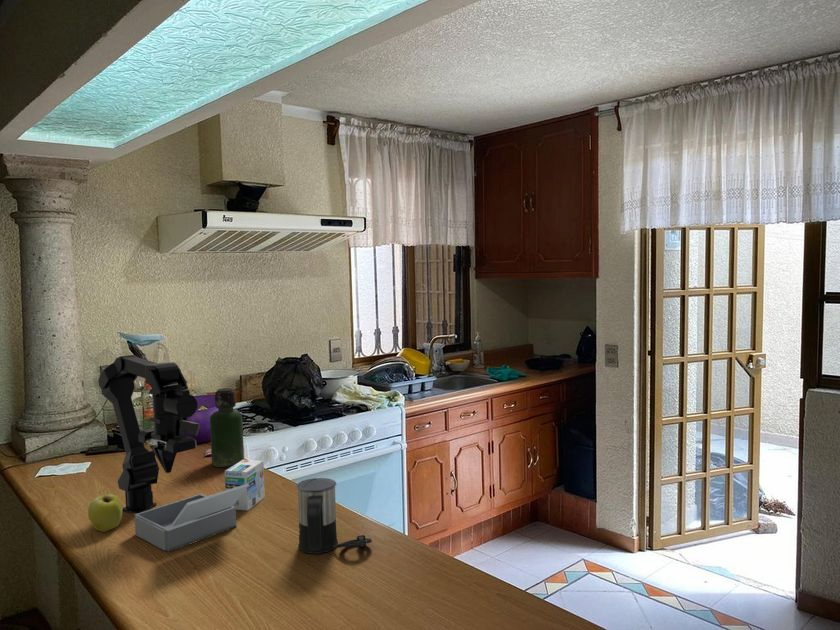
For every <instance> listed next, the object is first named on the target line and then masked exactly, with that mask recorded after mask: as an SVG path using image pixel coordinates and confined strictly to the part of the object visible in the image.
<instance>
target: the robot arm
mask: <svg viewBox="0 0 840 630" xmlns="http://www.w3.org/2000/svg"><path fill="white" fill-rule="evenodd" d="M98 377H99V378H98V381H97V382H98V387H99V388H100V389H101V392H102V394H103V396H104V398H105V399H107V400H108V401H109V403H111V404H112V406H113V410H114V414H115V418H116V421H117V424H118V425H117V426H118V429H119V432H120V437H121V439H122V443H123V448H124V451H125V456H124V459H123V462H122V473H121V474H120V475H119V478H118V479H117V485H118V489H119V490H122V491H124V494H125V495H124V496H125V506H124V507H122V508H123V512H127V513H128V512H130V513H134V514H138V513H141V512H144V511H148V510H150V509H152V508H154V507H156V506H157V503H156V502H154V493H153V491H152V490H153V489H152V485H154V484H157V483H158V480H159V479H158V478H159V473H160V467H159V464H158V462H159V463H160V466H161V467H162V468H163V471H164V472H165V473H166V474H169V473H171V472H172V470H173V466H174V464H175V459H176V456H177V453H182V452H185V451H186V452H187V451H189V450H194V449H196V448H197V440H196V439H195V438H194V437H193V436H196V437H197V436H198V433H199V429H200V427H201V426H200V425H201V424H200V423H197V422H195V421H190V420H189V419H188V418H191V417H192V416H194V414H195V413H196V412H197V410H198V401H197V399H196V397H195V396H194V395H192V394H190V389H189V387H188V384H187V383H188V381H187V379H186V378H185V376H184V375H183V373H182V371H181V368H180V367H179V365H178V364H177V363H176V362H154V361H153V360H152V361H151V360H148V359H145V358H141V357H138V355H134V354H130V355H129V354H128V355H121V356H118V357H116V358H115V359H114V361H113V363H110V364H109V365H108V366H107V367H105V368H104V369H103V370H102V372H101V374H100V375H99V376H98ZM138 377H140V378H143V379H145V381H144V383H145V384H147V385H148V386H149V387H150V390H149V391H148V394H149V395H152V409H153V414H152V415H153V416H151V417H149V419H150V422H153V427H151V428H148V429H142V430H141V429H140V426H139V425H140V424H139V421H138V417H137V415H136V411H135V406H134V403H133V399H132V397H133V394H134V391H135V388H136V386H135V381H136V380H137V378H138ZM185 434H188V435H185ZM189 435H192V436H189ZM149 440H151V442H152V445H150V446H149V449H151V450H148V448H146V447H145V444H146V442H147V441H149ZM157 460H158V462H157Z"/></svg>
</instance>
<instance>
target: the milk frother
mask: <svg viewBox="0 0 840 630" xmlns="http://www.w3.org/2000/svg"><path fill="white" fill-rule="evenodd" d="M336 486H337V481H336V480H334V479H332V478H327V477H314V478H308V479H304V480H302V481H299V482H298V483H297V484H296V488H297V491H298V493H297V494H298V495H297V496H298V497H297V498H298V530H299V531H298V532H299V535H298V548H297V549H299V551H301V552H303V553H306V554H307V553H308V554H324V553H326V552H331V551H333V550H335V549H337V548H348V547H358V548H364V547H366V546H367V544H370V543H372V542H373V541H372V538H369V537H367V538H366V535H365V534H361V535H358V536H356V539H350V540H347V541H344V542H341V543H339V541H338V536H337V535H338V534H337V517H336V516H337V512H336V505H337V504H336Z"/></svg>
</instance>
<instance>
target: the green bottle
mask: <svg viewBox="0 0 840 630" xmlns="http://www.w3.org/2000/svg"><path fill="white" fill-rule="evenodd" d="M214 404H215V408H216V409H218V410H216V411H214V412H213V413H212V414H211V415H210V417H209V428H210V433H209V434H210V449H211V450H210V455H211V465H212V466H214V467H218V468H231V467H232V466H234V465H235V464H237V463H238V462H240V461H242V460H245V456H244V455H245V450H244V448H245V447H244V426H243V423H244V422H243V415H242V413H241V412H240V410H238V409H234V408H235V407H236V404H237V394H236V392H235V390H234V389H233V388H230V387H229V388H228V387H227V388H226V387H225V388H219V389H217V390H216V391H215V394H214Z"/></svg>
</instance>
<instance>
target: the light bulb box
mask: <svg viewBox="0 0 840 630" xmlns="http://www.w3.org/2000/svg"><path fill="white" fill-rule="evenodd" d="M264 465H265V464H264V460H251V459H244V460H242V461H240V462H238V463H237V464H235V465H234V466H231V467H228V468H227V469H225V470H224V484H225V485H224V487H225V491H226V490H229V489H232V488H235V487H238V486H241V485H244V484H249V486H248V487H247V489H246V490H245V491H244V493H243V494H242V495H241V496H240V498H239V499H238V500H237V501H236V503H235V504H234V505H233V506H234V507H236V511H249V510H251V509H252V508H253V507H255V506H256V505H257V504H258V503H260V502H261V501H262V500H263V499H265V497H266V496H265V470H264V469H265V468H264V467H265V466H264Z"/></svg>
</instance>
